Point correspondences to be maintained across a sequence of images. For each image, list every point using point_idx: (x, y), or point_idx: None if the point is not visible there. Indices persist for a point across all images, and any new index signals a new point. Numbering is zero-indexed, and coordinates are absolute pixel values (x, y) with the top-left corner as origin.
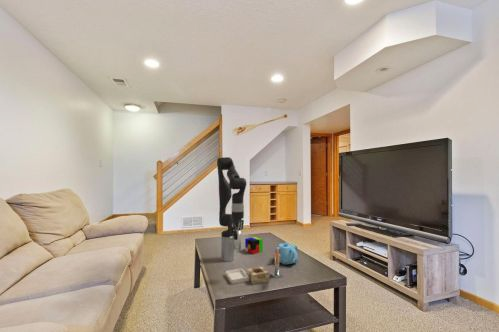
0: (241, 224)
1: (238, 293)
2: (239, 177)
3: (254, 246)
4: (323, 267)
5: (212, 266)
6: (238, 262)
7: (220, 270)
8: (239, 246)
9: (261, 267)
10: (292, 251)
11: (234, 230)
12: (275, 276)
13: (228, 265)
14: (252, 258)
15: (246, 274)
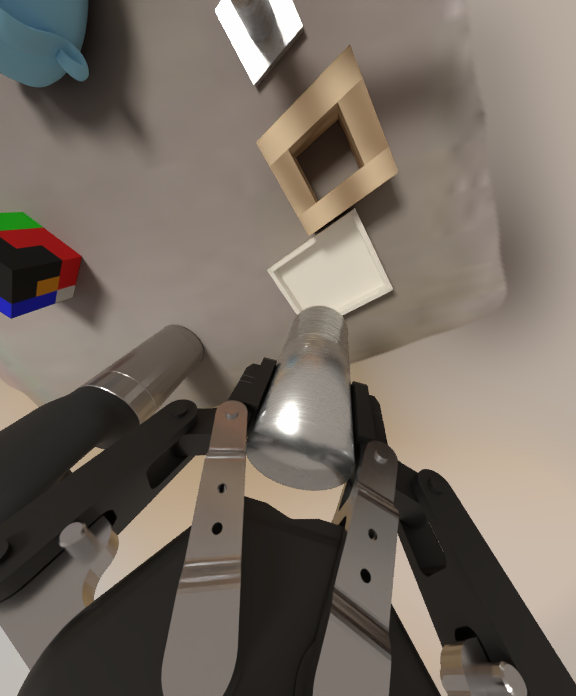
0: (207, 533)
1: (480, 235)
2: None
3: (33, 256)
4: None
5: None
6: (188, 301)
7: (277, 349)
8: (339, 325)
9: (274, 140)
10: None
11: (474, 542)
12: (293, 22)
13: (229, 332)
14: (121, 248)
15: (328, 232)
